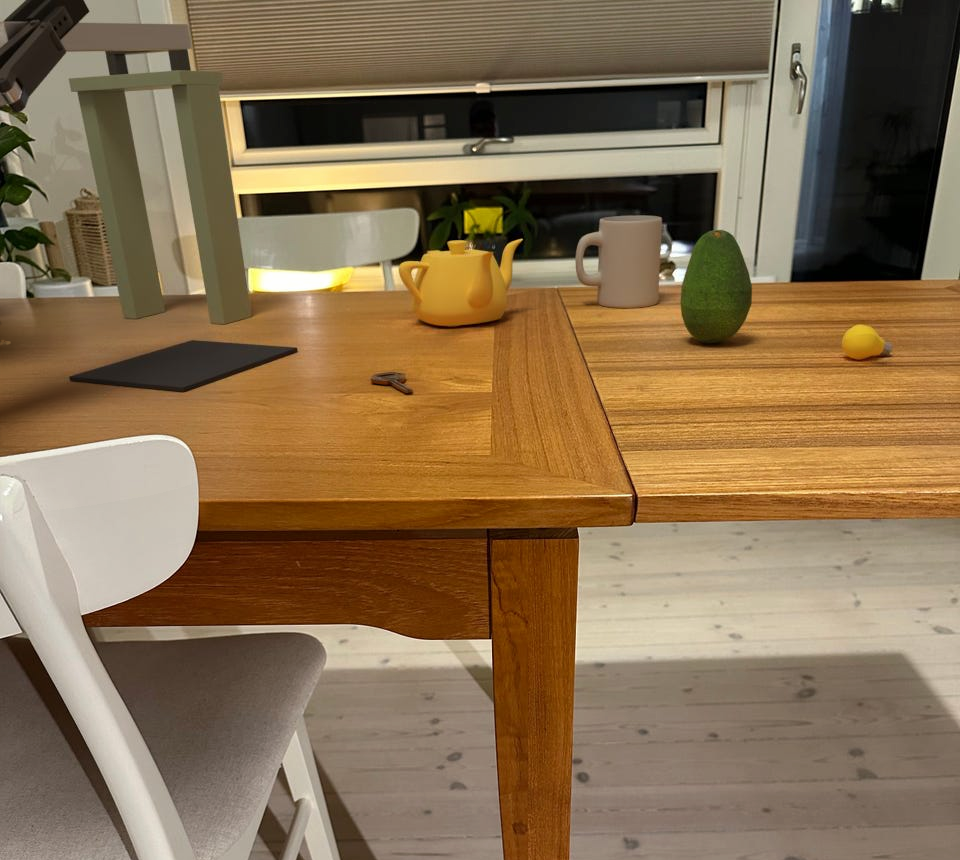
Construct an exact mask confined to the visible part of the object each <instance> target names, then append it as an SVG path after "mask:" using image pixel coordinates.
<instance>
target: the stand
mask: <svg viewBox="0 0 960 860" xmlns="http://www.w3.org/2000/svg"><path fill="white" fill-rule="evenodd" d="M166 52H167V53H168V58H169V65H170V70H165V71H152V72H151V71H150V72H137V73H129V68H128V62H127V57H126V56H129V55H130V56H131V55H132V56H133V55H140V54H141V55H142V54H143V55H144V54H154V53H166ZM104 53H105V58H106V63H107V67H108V74H109V75H95V76H84V77H70V78H69V77H68V83H69V88H70V92H71V93H76V94H77V99H78V102H79V106H80V113H81V118H82V122H83V126H84V132H85V136H86V142H87V146H88V152H89V156H90V161H91V166H92V170H93V175H94V181H95V185H96V190H97V195H98V200H99V205H100V209H101V214H102V219H103V225H104V229H105V233H106V238H107V243H108V248H109V249H108V250H109V253H110V258H111V263H112V268H113V272H114V277H115V278H114V279H115V282H116V283H115V284H116V287H117V293H118V297H119V302H120V306H121V312H122V316H123V317H122V318H123V319H131V320H138V319H141V318H145V317H150V316H154V315H157V314H161V313H165V312H166V307H165V302H164V297H163V292H162V286H161V280H160V276H159V270H158V265H157V260H156V259H157V258H156V254H155V249H154V244H153V237H152V232H151V227H150V221H149V217H148V210H147V205H146V199H145V195H144V189H143V184H142V179H141V173H140V167H139V162H138V156H137V151H136V145H135V140H134V135H133V130H132V124H131V119H130V113H129V107H128V103H127V97H126V92H140V91H155V90H171V91H172V97H173V104H174V110H175V117H176V121H177V128H178V133H179V140H180V146H181V153H182V158H183V165H184V170H185V176H186V182H187V188H188V194H189V195H188V196H189V200H190V201H189V202H190V207H191V214H192V219H193V224H194V231H195V237H196V242H197V249H198V250H197V251H198V256H199V261H200V267H201V274H202V279H203V286H204V292H205V298H206V304H207V310H208V316H209V322H210V324H211V325H227V324H231V323H235V322H238V321H241V320H245V319H248V318H252V310H251V302H250V296H249V287H248V283H247V274H246V268H245V267H246V266H245V261H244V260H245V259H244V254H243V247H242V240H241V233H240V226H239V220H238V211H237V207H236V200H235V199H236V197H235V191H234V185H233V184H234V183H233V178H232V177H233V176H232V170H231V163H230V156H229V149H228V144H227V136H226V130H225V129H226V128H225V121H224V116H223V108H222V100H221V95H220V88H219V87H220V86H224V80H223V73H222V71H213V70H212V71H208V70H192V68H191V62H190V56H189V49H183V50H147V51H104Z"/></svg>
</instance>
